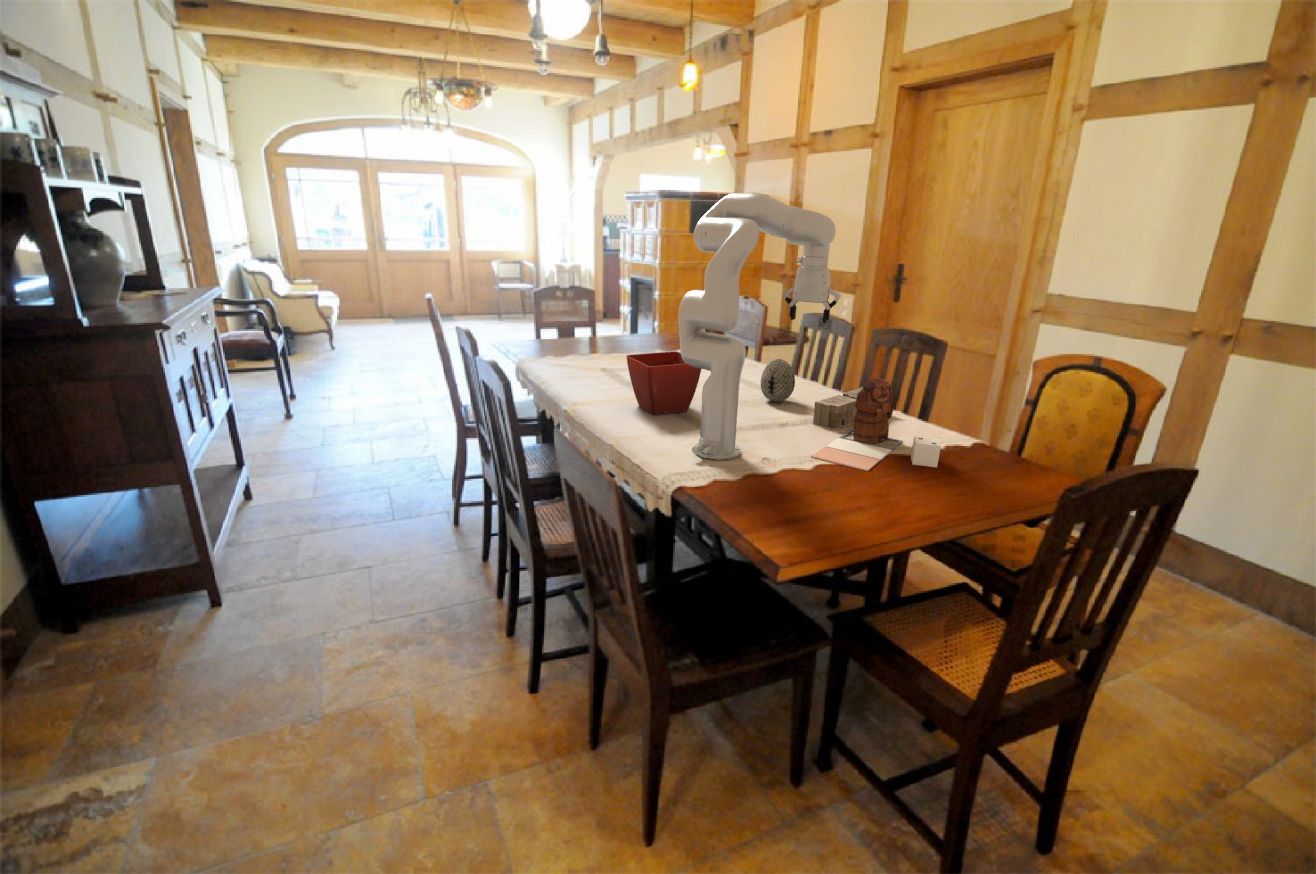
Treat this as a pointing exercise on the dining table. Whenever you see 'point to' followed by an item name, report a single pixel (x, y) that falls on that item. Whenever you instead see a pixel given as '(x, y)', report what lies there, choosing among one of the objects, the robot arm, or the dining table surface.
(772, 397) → the decorative egg
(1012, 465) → the dining table surface
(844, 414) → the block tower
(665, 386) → the plant pot
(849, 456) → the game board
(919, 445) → the die
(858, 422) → the wooden figurine
